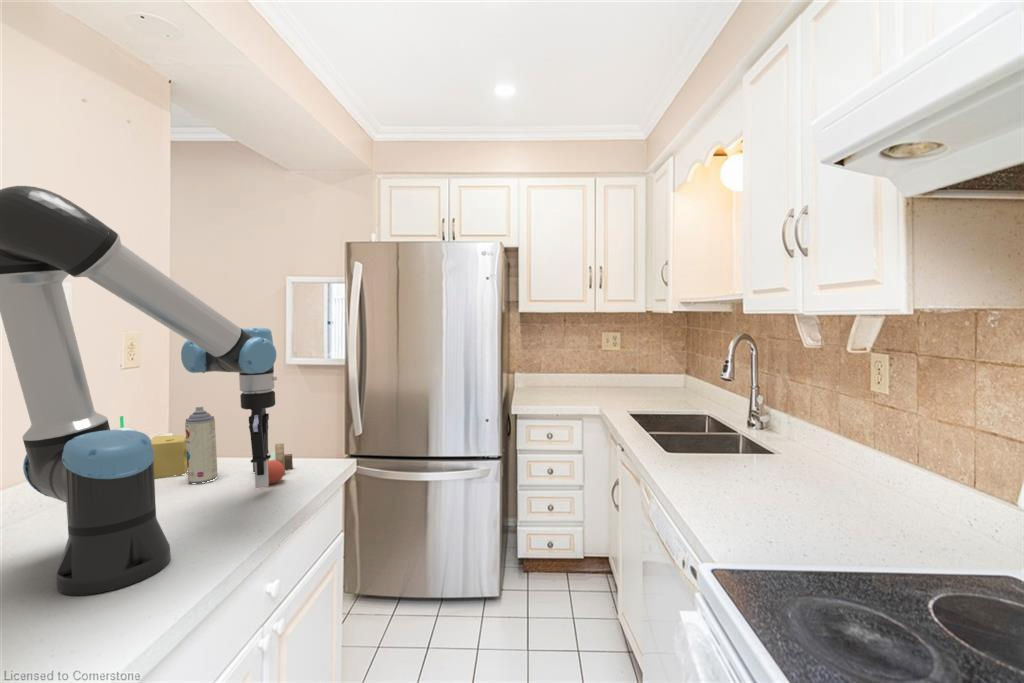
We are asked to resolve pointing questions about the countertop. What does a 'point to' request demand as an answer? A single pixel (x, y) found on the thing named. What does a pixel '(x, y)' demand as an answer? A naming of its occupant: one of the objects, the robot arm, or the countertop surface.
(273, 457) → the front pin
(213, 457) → the aerosol can
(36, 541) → the countertop surface
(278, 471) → the ball
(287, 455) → the back wall
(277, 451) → the pin
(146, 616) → the countertop surface
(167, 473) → the yellow box
